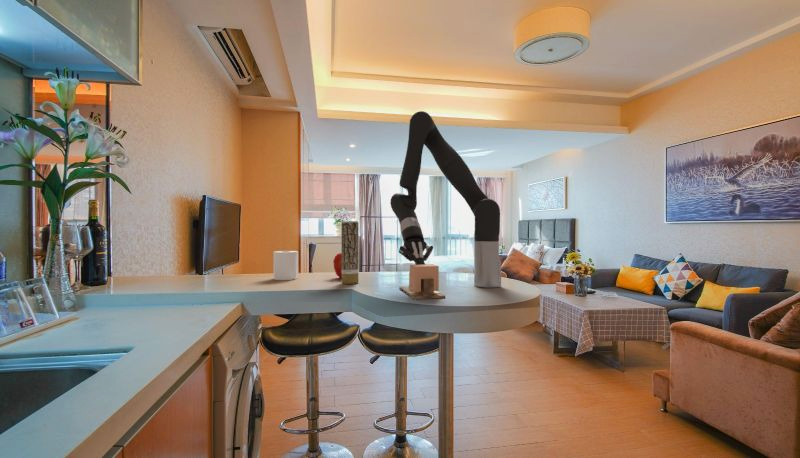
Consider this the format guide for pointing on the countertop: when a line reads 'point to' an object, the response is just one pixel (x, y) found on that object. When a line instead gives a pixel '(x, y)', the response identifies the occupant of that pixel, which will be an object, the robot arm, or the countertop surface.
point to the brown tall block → (350, 252)
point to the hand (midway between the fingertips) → (421, 268)
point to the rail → (423, 290)
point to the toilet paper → (285, 265)
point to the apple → (338, 264)
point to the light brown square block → (423, 276)
